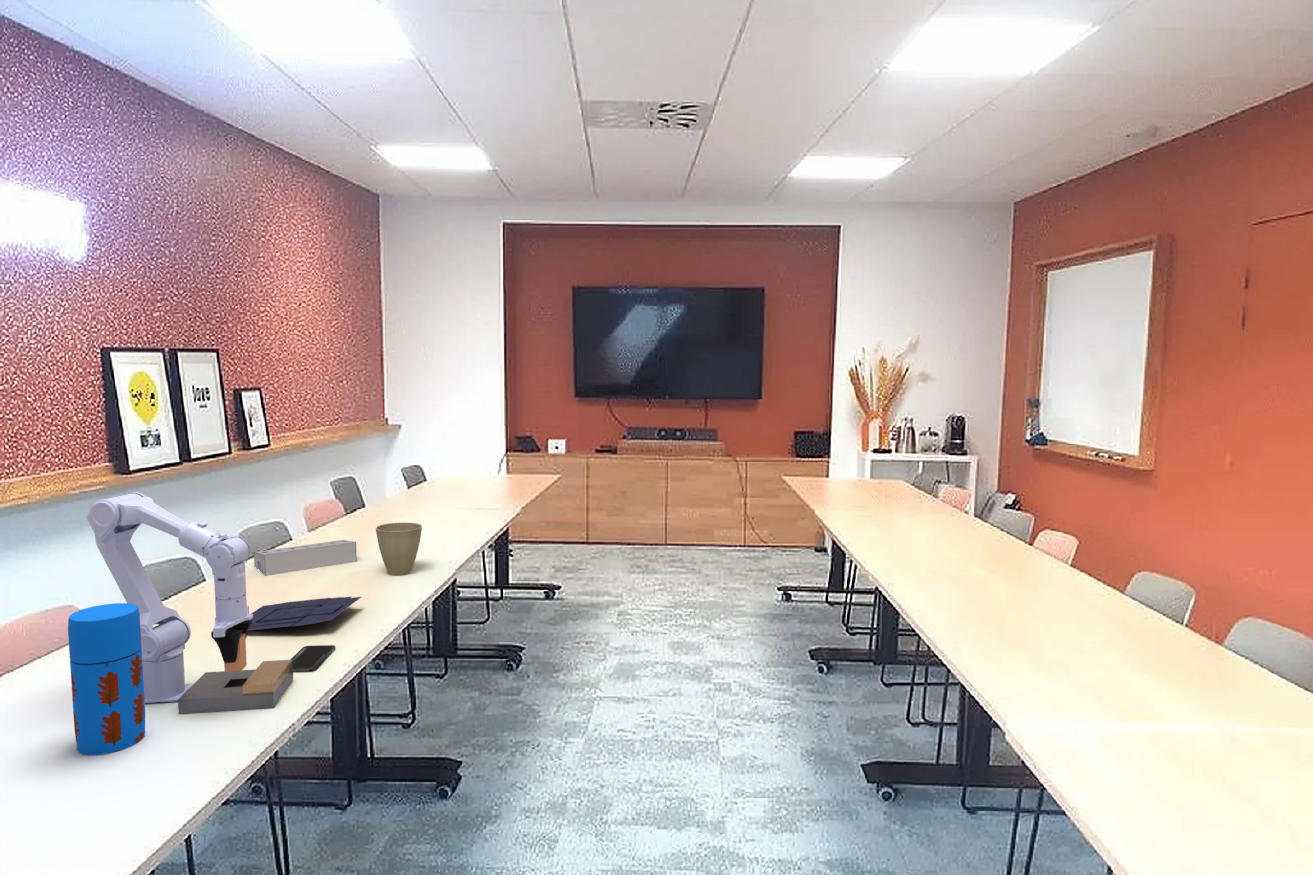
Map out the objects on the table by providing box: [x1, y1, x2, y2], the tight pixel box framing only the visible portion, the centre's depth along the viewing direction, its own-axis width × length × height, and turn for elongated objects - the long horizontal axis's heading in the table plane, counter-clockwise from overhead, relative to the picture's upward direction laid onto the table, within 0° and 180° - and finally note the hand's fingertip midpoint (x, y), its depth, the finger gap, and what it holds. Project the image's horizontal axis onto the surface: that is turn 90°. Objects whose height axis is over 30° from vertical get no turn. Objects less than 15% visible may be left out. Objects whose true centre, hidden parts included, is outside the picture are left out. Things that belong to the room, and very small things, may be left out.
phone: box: [289, 644, 336, 674], centre depth 184 cm, size 8×1×15 cm
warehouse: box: [253, 539, 358, 577], centre depth 269 cm, size 30×14×8 cm, turn 130°
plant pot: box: [375, 521, 423, 576], centre depth 259 cm, size 15×15×16 cm
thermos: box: [67, 602, 146, 756], centre depth 143 cm, size 11×11×25 cm
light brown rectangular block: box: [223, 634, 247, 672], centre depth 161 cm, size 3×3×7 cm
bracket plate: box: [177, 659, 294, 715], centre depth 163 cm, size 18×14×5 cm
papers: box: [248, 595, 362, 632], centre depth 211 cm, size 24×30×4 cm
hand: (233, 658), depth 161 cm, fingers closed on light brown rectangular block, 3 cm apart
